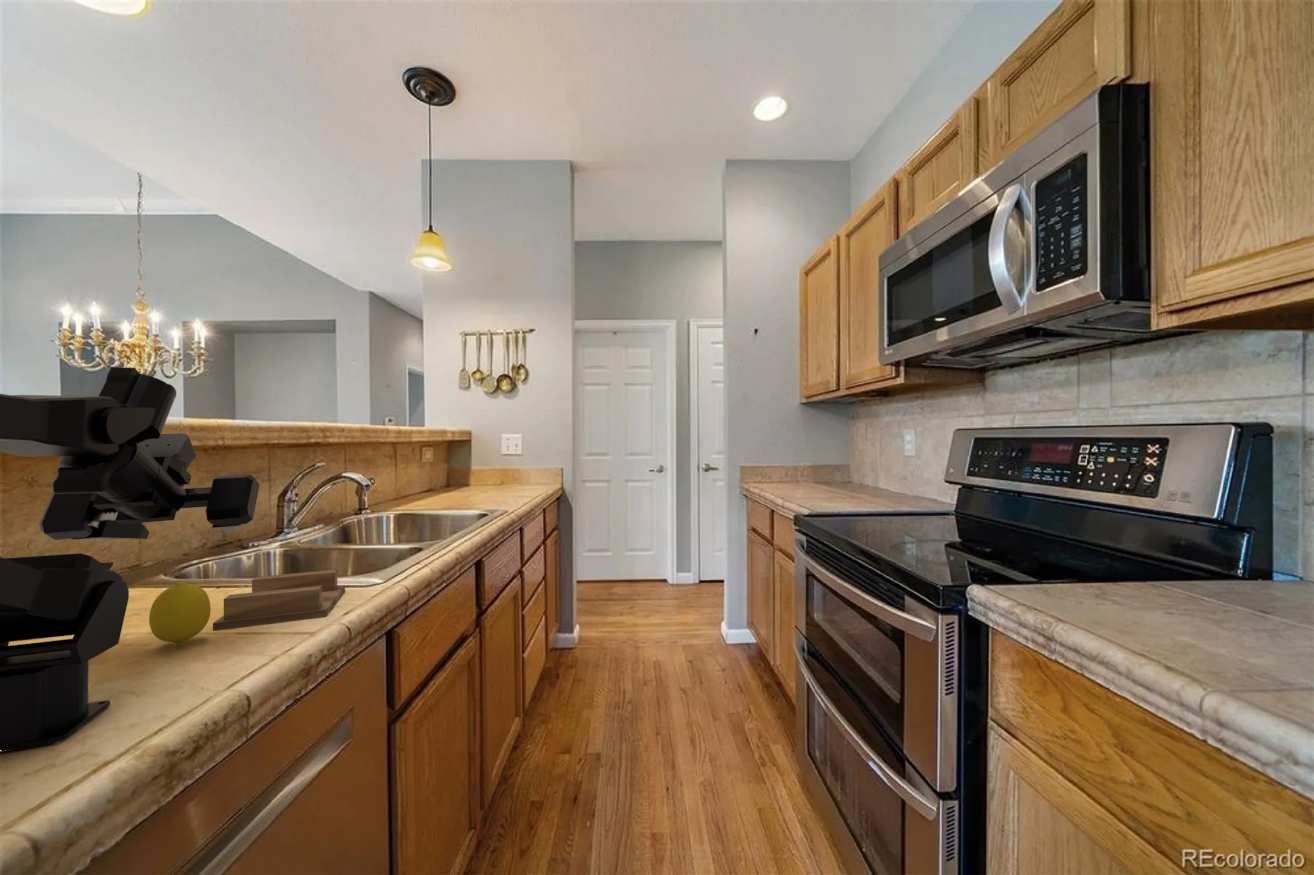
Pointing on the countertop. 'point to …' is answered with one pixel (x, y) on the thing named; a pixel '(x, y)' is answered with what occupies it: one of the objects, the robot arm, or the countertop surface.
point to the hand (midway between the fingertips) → (191, 531)
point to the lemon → (179, 613)
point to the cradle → (282, 599)
